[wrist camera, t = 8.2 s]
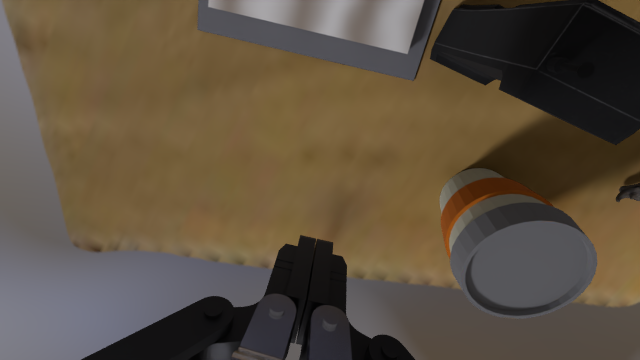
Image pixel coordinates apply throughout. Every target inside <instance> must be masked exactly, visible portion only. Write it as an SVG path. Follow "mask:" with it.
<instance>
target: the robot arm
mask: <svg viewBox="0 0 640 360" xmlns="http://www.w3.org/2000/svg"><path fill="white" fill-rule="evenodd" d="M315 243H316V245H315ZM332 252H333V242H329V241H324V240H320V239H317V242H316V239H315V238H311V237H306V236H302V235H300V239H299V243H298V246H294V245H290V244H285V245H284V246H283V247H282V248H281V249H280V250H279V252H278V255H277V258H276V261H275V265H274V268H273V271H272V274H271V277H270V280H269V283H268V286H267V289H266V292H265V295H264V297H263V298H262V299H261V300H260V301H259V302H257V303H256V304H254V305H251V306H246V307H233V305H232V304H231V302H229V300H227V299H225V298H223V297H219V296H211V297H207V298H204V299H201V300H199V301H197V302H195V303H193V304H191V305H190V306H187V307H186V308H183V309H181V310H180V311H177V312H175V313H173V314H171V315H169V316H167V317H166V318H163V319H161V320H159V321H157V322H155V323H153V324H152V325H149V326H147V327H146V328H143V329H141V330H140V331H138V332H135V333H133V334H131V335H129V336H128V337H126V338H123V339H121V340H120V341H117V342H115V343H113V344H111V345H109V346H107V347H106V348H103V349H101V350H100V351H97V352H96V353H93V354H91V355H89V356H87V357H85V358H83V359H82V360H285V358H286V357H287V354H288V350H289V346H290V343H295V339H296V335H297V332H298V336H297V342H296V344H301V345H302V347H301V354H300V358H299V360H415V359H414V358H413V356H412V355H411V354H410V353H409V352H408V350H407V349H406V348H405V347H404V346H403V345H402V344H401V343H400V342H399V341H398V340H397V339H395V338H393V337H391V336H388V335H377V336H375V337H373V338H372V339H371V338H369V337H367V336H365V335H364V334H362V333H360V332H359V331H357V330H356V329H355V328H354V327H353V326H352V325H351V324H350V322H349V320H348V318H347V316H346V281H347V276H346V275H347V265H346V263H345V261H344V259H343V257H342V256H338V255H334V254H332ZM298 328H299V330H298Z"/></svg>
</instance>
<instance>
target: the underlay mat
mask: <svg viewBox="0 0 640 360" xmlns="http://www.w3.org/2000/svg"><path fill="white" fill-rule="evenodd" d="M208 1H209V0H199V5H198V30H201V31H205V32H209V33H213V34H217V35H222V36H226V37H230V38H234V39H239V40H243V41H247V42H251V43H256V44H260V45H264V46H268V47H273V48H277V49H281V50H285V51H289V52H294V53H298V54H302V55H306V56H311V57H315V58H319V59H323V60H328V61H332V62H336V63H340V64H344V65H349V66H353V67H357V68H361V69H366V70H370V71H374V72H378V73H383V74H387V75H391V76H395V77H400V78H404V79H408V80H412V81H414V78H415V75H416V72H417V69H418V66H419V63H420V60H421V57H422V54H423V51H424V48H425V45H426V42H427V39H428V36H429V33H430V30H431V27H432V24H433V21H434V18H435V15H436V12H437V9H438V6H439V3H440V0H424V3H423V6H422V9H421V12H420V15H419V19H418V22H417V25H416V28H415V32H414V35H413V38H412V41H411V44H410V48H409V51H408V54H405V53H401V52H396V51H392V50H388V49H384V48H379V47H375V46H371V45H367V44H363V43H358V42H354V41H350V40H346V39H341V38H337V37H333V36H329V35H325V34H320V33H316V32H312V31H308V30H304V29H299V28H295V27H291V26H287V25H282V24H278V23H274V22H270V21H266V20H261V19H257V18H253V17H249V16H245V15H240V14H236V13H232V12H228V11H223V10H219V9H215V8H211V7H208Z"/></svg>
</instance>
